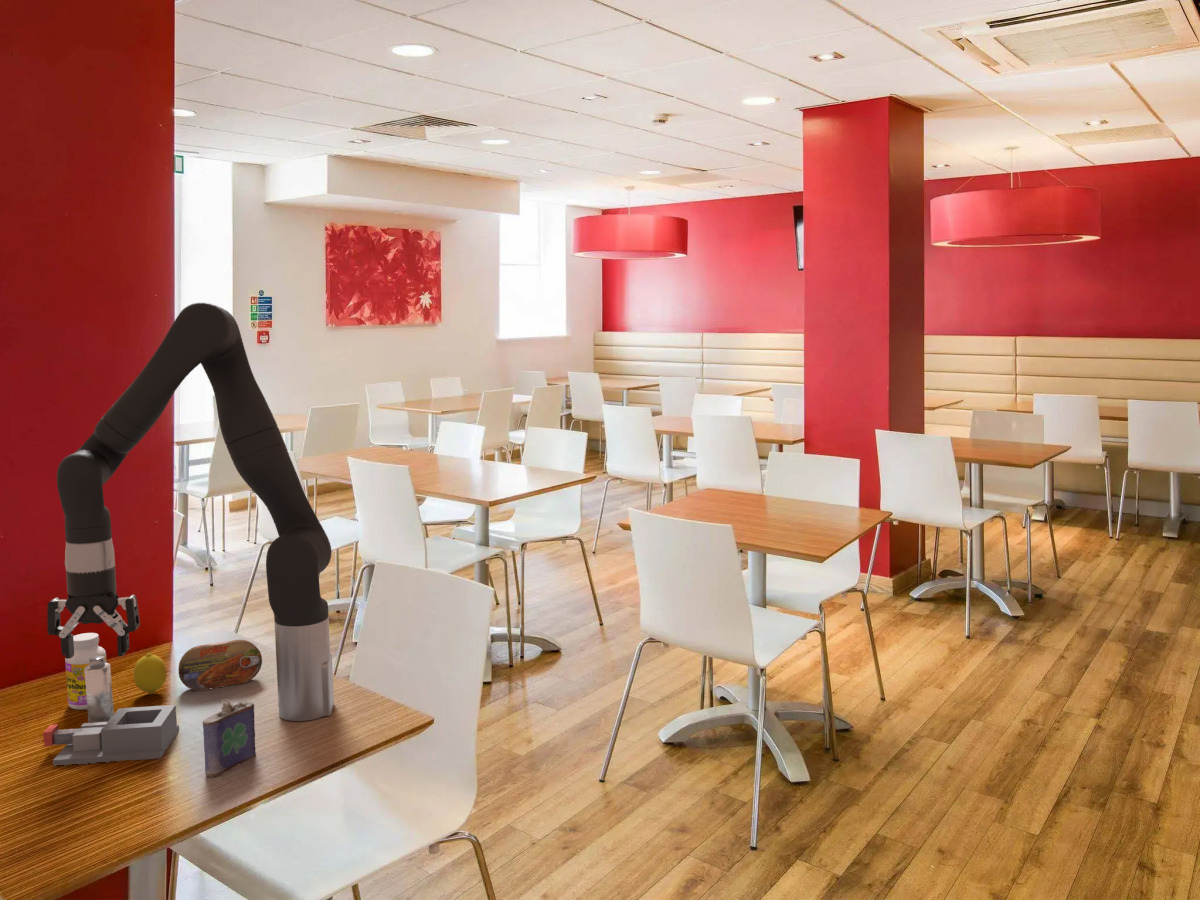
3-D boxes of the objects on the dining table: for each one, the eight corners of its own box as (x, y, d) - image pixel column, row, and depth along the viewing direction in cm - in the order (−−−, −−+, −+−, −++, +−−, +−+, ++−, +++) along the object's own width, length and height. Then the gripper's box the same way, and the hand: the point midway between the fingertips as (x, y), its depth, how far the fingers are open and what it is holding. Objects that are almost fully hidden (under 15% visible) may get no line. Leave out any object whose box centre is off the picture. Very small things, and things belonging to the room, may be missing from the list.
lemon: (154, 700, 179) (152, 659, 178) (128, 698, 180) (125, 657, 179) (173, 689, 184) (171, 649, 183) (148, 687, 185) (145, 647, 184)
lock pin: (111, 735, 160) (110, 720, 160) (105, 742, 157) (104, 728, 157) (51, 739, 158) (50, 724, 158) (44, 747, 155) (43, 732, 155)
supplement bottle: (60, 707, 176) (54, 639, 174) (91, 695, 182) (86, 629, 180) (86, 713, 173) (81, 644, 172) (117, 700, 179) (112, 633, 178)
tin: (180, 694, 182) (177, 651, 181) (178, 688, 185) (176, 646, 184) (263, 680, 189) (261, 639, 188) (261, 675, 192) (259, 634, 191)
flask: (212, 779, 147) (208, 712, 146) (199, 775, 149) (195, 708, 148) (260, 756, 155) (256, 692, 154) (247, 752, 157) (244, 689, 156)
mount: (178, 730, 166) (177, 702, 165) (160, 758, 155) (159, 728, 154) (78, 737, 163) (76, 709, 162) (53, 766, 152) (51, 736, 152)
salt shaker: (117, 716, 172) (112, 653, 170) (109, 725, 168) (105, 661, 166) (93, 717, 171) (88, 655, 170) (85, 726, 167) (80, 663, 166)
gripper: (141, 559, 171) (145, 647, 173) (54, 561, 169) (60, 650, 171) (127, 569, 164) (132, 661, 166) (37, 572, 161) (43, 665, 163)
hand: (96, 656), depth 168 cm, fingers open, 8 cm apart
